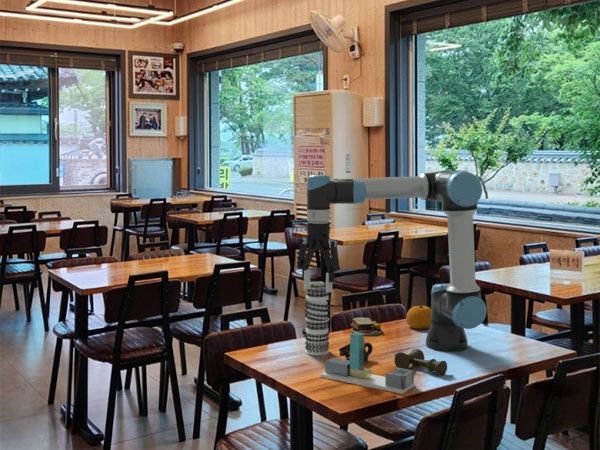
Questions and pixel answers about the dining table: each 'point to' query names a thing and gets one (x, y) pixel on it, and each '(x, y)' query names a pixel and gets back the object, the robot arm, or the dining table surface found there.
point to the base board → (367, 382)
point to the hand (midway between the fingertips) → (318, 290)
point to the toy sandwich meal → (366, 326)
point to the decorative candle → (317, 319)
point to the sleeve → (337, 366)
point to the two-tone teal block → (357, 357)
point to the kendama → (420, 362)
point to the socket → (399, 378)
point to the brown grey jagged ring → (346, 350)
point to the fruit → (419, 317)
